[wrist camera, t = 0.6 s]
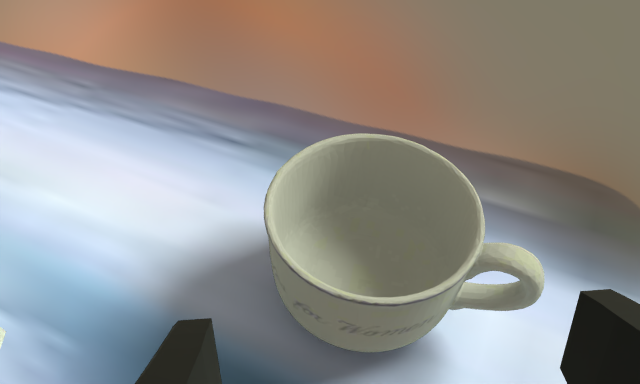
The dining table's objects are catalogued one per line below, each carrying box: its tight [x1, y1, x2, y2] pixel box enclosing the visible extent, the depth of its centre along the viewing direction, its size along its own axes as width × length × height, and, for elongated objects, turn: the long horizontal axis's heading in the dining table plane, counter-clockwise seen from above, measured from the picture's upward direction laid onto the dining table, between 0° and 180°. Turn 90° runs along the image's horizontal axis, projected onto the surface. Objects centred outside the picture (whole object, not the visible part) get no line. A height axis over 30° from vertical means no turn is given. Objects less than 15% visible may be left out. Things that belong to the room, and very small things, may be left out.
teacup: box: [264, 134, 544, 352], centre depth 26 cm, size 14×11×8 cm
